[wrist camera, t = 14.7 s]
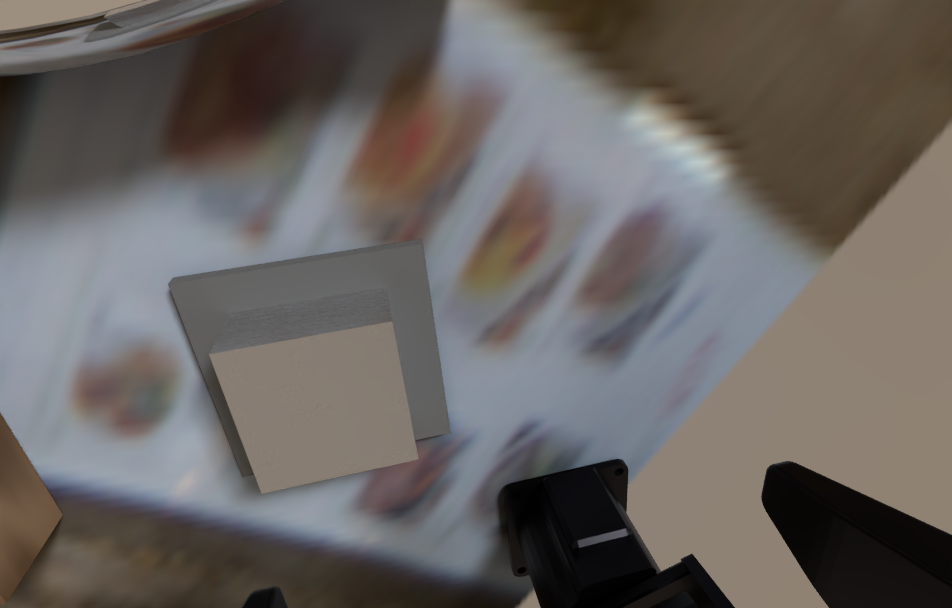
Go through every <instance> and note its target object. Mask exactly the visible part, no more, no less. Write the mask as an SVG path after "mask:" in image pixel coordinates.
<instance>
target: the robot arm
mask: <svg viewBox="0 0 952 608" xmlns="http://www.w3.org/2000/svg"><path fill="white" fill-rule="evenodd" d="M617 469H618V470H617ZM627 487H628V467H627V465H626V464H625V462H624V461H623V460H621V459H615V460H611V461H606V462H602V463H598V464H593V465H589V466H585V467H580V468H576V469H572V470H567V471H563V472H558V473H554V474H550V475H545V476H541V477H537V478H532V479H528V480H524V481H519V482H515V483H512V484H509V485H508V486H507V487H506V488H505V490H504V498H505V508H506V519H507V529H508V540H509V550H510V560H511V568H512V571H513V574H514V575H515V576H517V577H521V576H526V575H530V577H531V580H532V583H533V586H534V589H535V592H536V595H537V598H538V601H539V604H540V607H541V608H735V607H734V606H733V605H732V604H731V602H730V601H729V600H728V599H727V597H726V596H725V595H724V594H723V592H722V591H721V590H720V588H719V587H718V586H717V585H716V583H715V582H714V581H713V580H712V578H711V577H710V576H709V575H708V573H707V572H706V571H705V569H704V568H703V567H702V566H701V564H700V563H699V562H698V561H697V559H696V558H695V557H694V555H693V554H690V555H688V556H686V557H684V558H682V559H681V562H679V563H677V564H675V565H674V566H671V567H669V568H667V569H665V570H663V571H660V569H659V567H658V566H657V564H656V562H655V560H654V559H653V557H652V556H651V554H650V552H649V550H648V549H647V547H646V545H645V544H644V542H643V540H642V539H641V537H640V535H639V534H638V532H637V530H636V529H635V527H634V525H633V524H632V522H631V520H630V519H629V517H628V515H627V514H626V508H627ZM515 492H517V493H515ZM513 493H515V494H513ZM762 503H763V506H764V508H765V510H766V512H767V513H768V515H769V517H770V518H771V520H772V522H773V523H774V525H775V526H776V528H777V529H778V531H779V533H780V534H781V536H782V538H783V539H784V541H785V542H786V544H787V546H788V547H789V549H790V550H791V552H792V554H793V555H794V557H795V558H796V560H797V562H798V563H799V565H800V566H801V568H802V570H803V571H804V573H805V574H806V576H807V577H808V579H809V580H810V582H811V583H812V585H813V586H814V588H815V589H816V591H817V592H818V593H819V595H820V596H821V597H822V599H823V600H824V601H825V603H826V604H827V605H828V607H829V608H952V535H951V534H949V533H947V532H944V531H942V530H940V529H938V528H936V527H934V526H931V525H929V524H927V523H925V522H923V521H921V520H918V519H916V518H914V517H912V516H910V515H907V514H905V513H903V512H901V511H899V510H897V509H894V508H892V507H890V506H888V505H886V504H883V503H881V502H879V501H877V500H875V499H873V498H871V497H868V496H866V495H864V494H862V493H860V492H858V491H855V490H853V489H851V488H849V487H846V486H844V485H842V484H840V483H838V482H836V481H834V480H831V479H829V478H827V477H825V476H823V475H821V474H818V473H816V472H814V471H812V470H810V469H808V468H805V467H803V466H801V465H799V464H797V463H794V462H790V461H785V462H781V463H777V464H773V465H770V466H769V467H768V468H767V471H766V475H765V480H764V485H763V490H762ZM241 608H288V606H287V604H286V601H285V599H284V596H283V594H282V591H281V589H280V588H279V587H278V586H270V587H266V588H262V589H258V590H255V591H253V592H252V593H251V594H250V595H249V596H248V598H247V599H246V601H245V603H244V604H243V606H242V607H241Z"/></svg>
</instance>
